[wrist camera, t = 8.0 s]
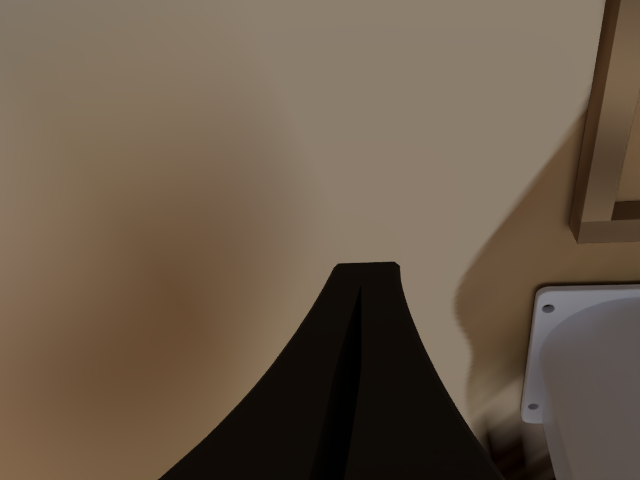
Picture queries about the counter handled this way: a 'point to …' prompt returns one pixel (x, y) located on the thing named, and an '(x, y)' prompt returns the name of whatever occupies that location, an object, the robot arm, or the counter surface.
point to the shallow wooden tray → (609, 131)
